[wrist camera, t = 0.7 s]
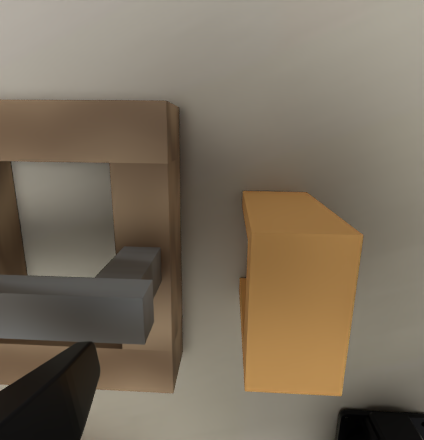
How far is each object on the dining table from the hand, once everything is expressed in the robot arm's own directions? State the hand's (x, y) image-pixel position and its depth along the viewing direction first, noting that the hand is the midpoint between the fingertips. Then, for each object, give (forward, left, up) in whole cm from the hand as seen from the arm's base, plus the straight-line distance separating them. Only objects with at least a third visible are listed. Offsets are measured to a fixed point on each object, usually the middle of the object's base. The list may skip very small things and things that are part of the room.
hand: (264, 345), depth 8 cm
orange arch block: (-2, -2, -13) cm, 13 cm away
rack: (-2, +11, -13) cm, 17 cm away
